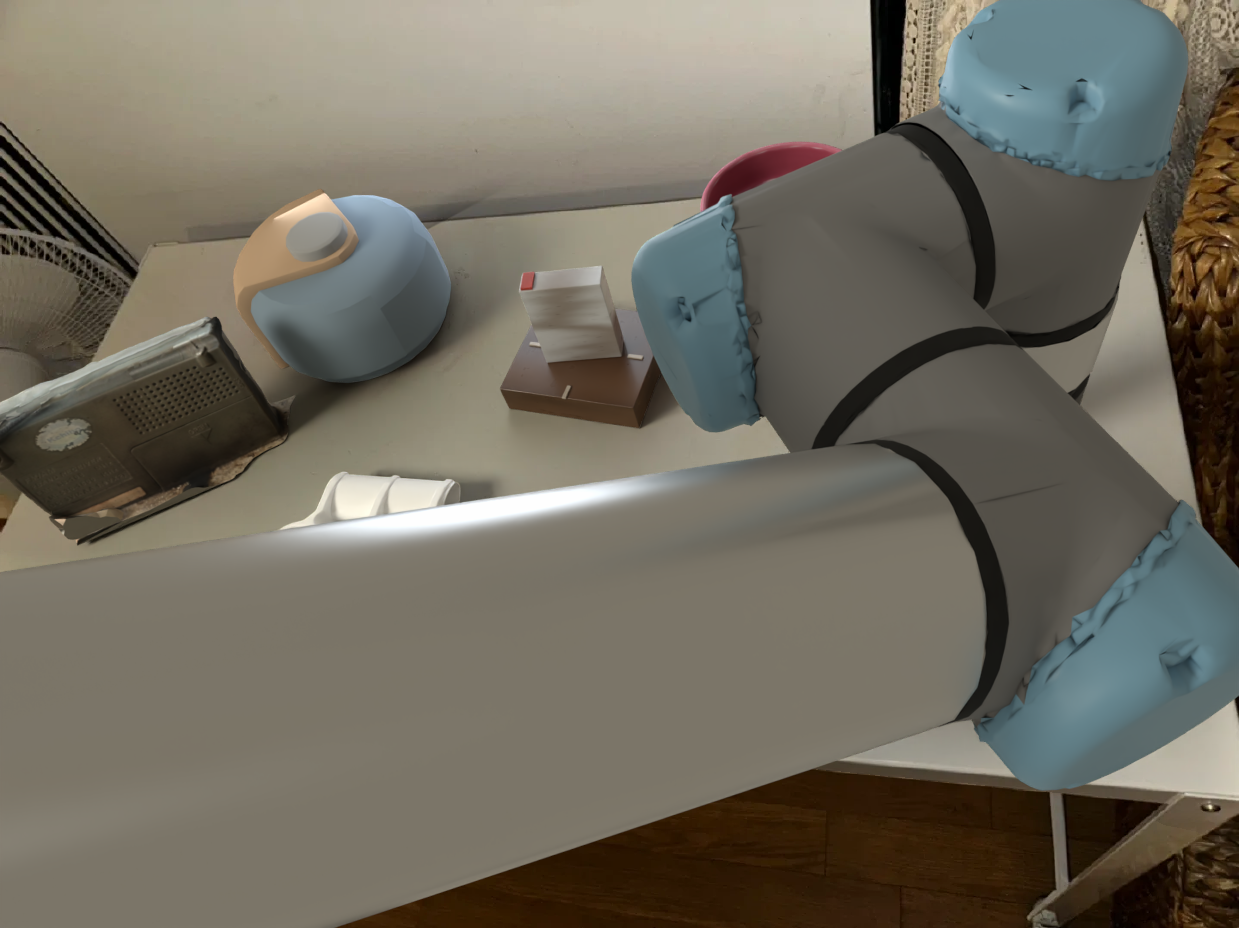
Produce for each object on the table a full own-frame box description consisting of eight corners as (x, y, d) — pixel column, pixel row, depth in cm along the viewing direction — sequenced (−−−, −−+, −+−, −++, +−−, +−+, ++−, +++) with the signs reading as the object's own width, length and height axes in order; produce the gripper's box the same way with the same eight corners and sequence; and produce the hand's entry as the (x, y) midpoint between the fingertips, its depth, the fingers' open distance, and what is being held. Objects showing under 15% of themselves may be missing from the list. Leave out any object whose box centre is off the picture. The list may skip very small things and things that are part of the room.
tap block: (639, 429, 81) (632, 407, 78) (508, 409, 85) (498, 388, 83) (675, 335, 86) (670, 312, 84) (551, 321, 91) (542, 298, 88)
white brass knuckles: (498, 496, 80) (447, 653, 72) (319, 483, 85) (253, 628, 77) (486, 475, 77) (431, 636, 69) (301, 462, 82) (231, 611, 74)
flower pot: (740, 243, 92) (726, 133, 81) (883, 256, 87) (888, 141, 76) (698, 350, 85) (677, 245, 74) (851, 371, 80) (852, 262, 69)
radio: (295, 395, 92) (213, 288, 80) (306, 457, 87) (219, 353, 75) (76, 483, 91) (-41, 389, 79) (73, 552, 86) (-52, 462, 74)
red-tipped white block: (623, 338, 83) (601, 263, 76) (622, 356, 82) (599, 281, 74) (549, 344, 85) (521, 271, 77) (546, 362, 83) (517, 290, 76)
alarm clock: (336, 245, 105) (284, 157, 95) (487, 266, 97) (448, 173, 88) (243, 372, 95) (174, 289, 86) (401, 406, 88) (347, 319, 78)
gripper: (938, 244, 46) (909, 496, 65) (894, 451, 40) (876, 665, 59) (1102, 257, 44) (1023, 515, 63) (1084, 480, 37) (1001, 693, 56)
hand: (952, 587), depth 61 cm, fingers closed
